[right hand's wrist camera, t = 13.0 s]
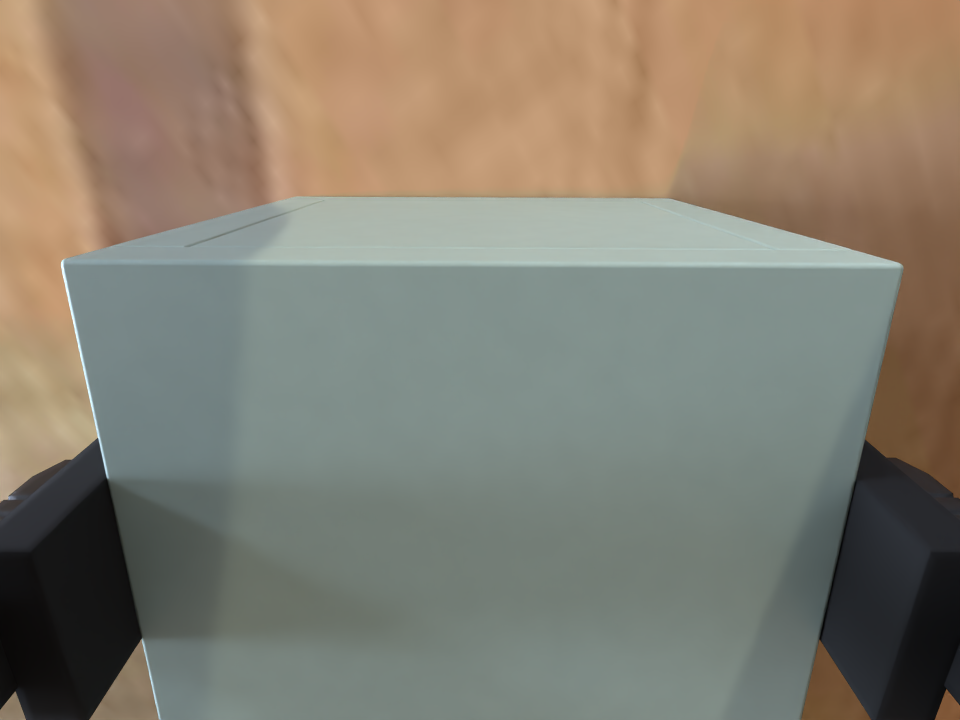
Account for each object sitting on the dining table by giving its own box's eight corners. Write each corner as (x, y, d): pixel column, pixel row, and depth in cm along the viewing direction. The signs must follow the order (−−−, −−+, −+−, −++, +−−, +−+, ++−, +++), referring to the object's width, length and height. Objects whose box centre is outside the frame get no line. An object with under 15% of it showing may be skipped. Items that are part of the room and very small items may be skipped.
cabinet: (611, 790, 24) (693, 1201, 15) (347, 788, 24) (260, 1197, 15) (671, 198, 17) (907, 263, 7) (293, 196, 17) (55, 259, 7)
